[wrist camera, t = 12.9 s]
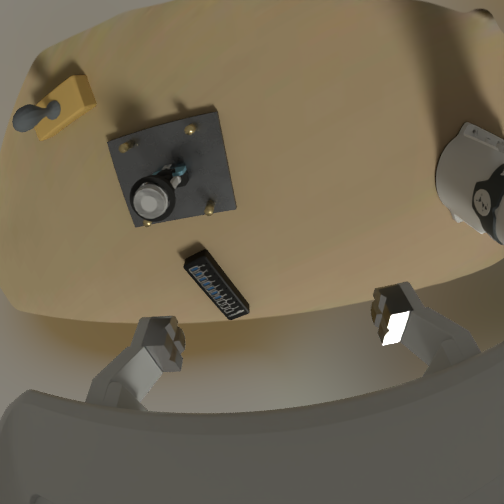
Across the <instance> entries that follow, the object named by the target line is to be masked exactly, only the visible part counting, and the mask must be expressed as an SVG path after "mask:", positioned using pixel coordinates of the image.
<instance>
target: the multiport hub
mask: <svg viewBox="0 0 504 504" xmlns="http://www.w3.org/2000/svg"><path fill="white" fill-rule="evenodd" d="M184 269H185V270H186V271H187V272H188V274H189V275H190V276H191V277H192V278H193V280H194V281H195V282H196V283H197V284H198V285H199V287H200V288H201V289H202V290H203V291H204V292H205V293H206V295H207V296H208V297H209V298H210V299H211V300H212V302H213V303H214V304H215V305H216V306H217V307H218V308H219V309H220V311H221V312H222V313H223V314H224V315H225V316H226V317H227V318H228V319H229V320H233V319H235V318H238V317H241V316H243V315H246V314H248V313H249V304H248V302H247V301H246V300H245V298H244V297H243V296H242V295H241V293H240V292H239V291H238V290H237V288H236V287H235V286H234V284H233V283H232V282H231V280H230V279H229V278H228V277H227V275H226V274H225V273H224V271H223V270H222V269H221V267H220V266H219V265H218V264H217V262H216V261H215V260H214V258H213V257H212V256H211V254H210V253H209V252H208V250H202V251H200V252H198V253H196V254H194V255H192V256H190V257H188V258H187V259H186V260H185V263H184Z"/></svg>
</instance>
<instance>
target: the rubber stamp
mask: <svg viewBox="0 0 504 504" xmlns="http://www.w3.org/2000/svg"><path fill="white" fill-rule="evenodd" d="M96 104H97V103H96V101H95V98H94V95H93V93H92V90H91V87H90V85H89V82H88V79H87V76H86V75H72V76H70V77H69V78H67V79H66V80H65V81H64V82H62V83H61V84H60V85H59V86H57V87H56V88H55V89H54V90H52V91H51V92H50V93H49V94H48V95H46V96H45V97H44V98H43V99H42V100H41V101H40V102H38V103H37V104H36V105H31V104H29V105H25V106H23V107H21V108H19V109H18V110H17V111H16V113H15V115H14V116H13V121H12V122H13V127H14V128H15V130H17V131H19V132H26V131H28V130H30V129H32V128H35V131H36V133H37V136H38V138H39V141H43V140H46V139H48V138H50V137H53V136H54V135H56V134H57V133H58V132H59V131H61V130H62V129H63V128H65V127H66V126H68V125H69V124H70V123H72V122H73V121H75V120H76V119H77V118H79V117H80V116H82V115H83V114H85V113H86V112H88V111H89V110H91V109H92V108H94V107H95V106H96Z"/></svg>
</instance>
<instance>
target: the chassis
mask: <svg viewBox="0 0 504 504" xmlns="http://www.w3.org/2000/svg"><path fill="white" fill-rule="evenodd" d="M107 143H108V147H109V150H110V154H111V157H112V160H113V164H114V167H115V170H116V173H117V176H118V180H119V183H120V186H121V189H122V192H123V194H124V197H125V200H126V203H127V206H128V209H129V211H130V214H131V217H132V220H133V222H134V225H135V227H140V226H145V227H149V226H150V225H151V224H155V223H160V222H166V221H171V220H176V219H182V218H187V217H193V216H199V215H207V216H211V215H212V214H213V213H217V212H223V211H229V210H235V209H236V208H237V206H236V201H235V196H234V191H233V186H232V181H231V176H230V171H229V166H228V161H227V156H226V151H225V146H224V140H223V135H222V130H221V125H220V120H219V115H218V111H216V112H211V113H206V114H202V115H197V116H193V117H189V118H184V119H180V120H176V121H172V122H169V123H165V124H161V125H158V126H154V127H151V128H147V129H144V130H141V131H138V132H135V133H131V134H128V135H125V136H122V137H120V138H117V139H114V140H111V141H109V142H107ZM169 164H172V165H171V166H170V169H171V168H176V167H181V166H186V169H187V173H188V178H189V181H188V183H187V184H186V186H183V187H178V188H175V197H176V203H175V207H174V210H173V212H172V213H171V215H170V216H169V217H167V218H166V219H164V220H162V221H158V222H151V221H147V220H144V219H142V218H141V217H139V216H138V215H137V214H136V213H135V212H134V210H133V209H132V207H131V204H130V198H129V197H130V191H131V188H132V186H133V185H134V184H135V183H136V182H137V181H138V180H139V179H141V178H143V177H146V176H149V175H152V174H153V173H154V172H157V171H161V170H162V168H163V167H164V166H165V165H169ZM144 184H145V183H144ZM141 186H143V185H141ZM141 186H140V187H141ZM169 204H170V200H169V202H168V207H169ZM168 207H167V208H168Z"/></svg>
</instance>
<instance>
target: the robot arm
mask: <svg viewBox="0 0 504 504" xmlns="http://www.w3.org/2000/svg"><path fill="white" fill-rule="evenodd" d="M436 187H437V192H438V195H439V198H440V200H441V201H442V203H443V204H444V205H445V206H446V207H447V208H448V209H449V210H450V211H451V214H452V217H453V219H454V220H455V221H456V222H458V223H459V222H462V221H464V222H466V223H467V224H468V225H470V226H471V227H472V228H474V229H475V230H476V231H478V232H479V233H481V234H483V233H487V234H488V235H489V236H490V237H491V238H492V239H493V240H495V241H497V242H498V243H499V244H501V245H504V140H503V139H501V138H500V137H498V136H496V135H494V134H492V133H490V132H488V131H486V130H484V129H482V128H480V127H478V126H476V125H474V124H471V123H469V122H466V123H464V125H463V126H462V128H461V130H460V132H459V134H458V135H457V136H456V137H455V138H454V139H453V140H452V141H451V142H450V143H449V144H448V145H447V146H446V148H445V149H444V151H443V153H442V155H441V157H440V160H439V163H438V167H437V172H436ZM373 297H374V299H375V300H374V301H373V302H372V304H371V317H372V321H373V323H374V325H375V326H377V327H378V328H379V329H378V335H379V338H380V340H381V343H382V345H386V344H390V343H394V342H399V341H401V343H402V344H403V345H405V346H406V347H407V348H408V349H409V350H411V351H412V352H413V353H414V354H415V355H417V356H418V357H419V358H420V359H421V360H422V361H424V362H425V363H426V364H427V365H428V366H429V367H428V368H427V370H426V372H425V373H424V375H423V377H421V378H418V379H415V380H412V381H409V382H406V383H402V384H400V385H396V386H393V387H389V388H386V389H382V390H379V391H375V392H371V393H367V394H363V395H359V396H354V397H350V398H345V399H340V400H336V401H331V402H325V403H319V404H313V405H308V406H300V407H293V408H285V409H277V410H267V411H255V412H240V413H169V412H153V411H148V410H147V409H146V408H145V407H144V406H143V405H142V404H141V403H140V402H141V401H142V399H143V398H144V397H145V395H146V394H147V393H148V392H149V390H150V389H151V388H152V386H153V385H154V384H155V382H156V381H157V380H158V379H159V377H160V376H161V375H162V373H163V372H175V371H181V367H182V360H183V358H182V356H181V353H182V352H183V351H184V350H185V336H184V333H183V331H182V329H181V328H180V327H178V326H177V325H178V321H177V319H176V317H175V316H159V317H142V318H141V319H140V320H139V323H138V326H137V329H136V331H135V334H134V337H133V340H132V343H131V346H130V347H127V348H125V350H123V351H122V352H121V353H120V354H119V355H118V356H117V357H116V358H115V359H114V360H113V361H112V362H111V363H110V364H108V365H107V366H106V367H105V368H104V369H103V370H102V371H101V372H100V373H99V374H98V375H97V376H96V377H95V378H94V379H93V380H92V383H91V386H90V389H89V392H88V395H87V398H86V401H85V402H81V401H76V400H71V399H67V398H62V397H58V396H54V395H50V394H47V393H43V392H39V391H36V390H32V389H31V390H27V391H26V392H24V393H23V394H21V395H20V396H19V397H18V398H17V399H15V400H14V401H13V402H12V403H11V404H10V405H9V406H8V407H7V409H6V410H5V412H4V414H3V416H2V418H1V420H0V504H504V341H503V342H501V343H499V344H497V345H495V346H493V347H491V348H489V349H487V350H485V351H483V352H481V351H480V349H479V348H478V346H477V344H476V342H475V340H474V339H473V337H472V335H471V334H470V332H469V331H468V330H467V329H465V328H463V327H462V326H460V325H458V324H457V323H455V322H453V321H451V320H450V319H448V318H446V317H444V316H443V315H441V314H439V313H437V312H436V311H434V310H432V309H431V308H429V307H426V308H425V307H424V305H423V304H422V302H421V300H420V299H419V297H418V295H417V294H416V292H415V291H414V289H413V288H412V286H411V285H410V283H409V282H402V283H398V284H393V285H389V286H384V287H379V288H375V290H374V293H373Z"/></svg>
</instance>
